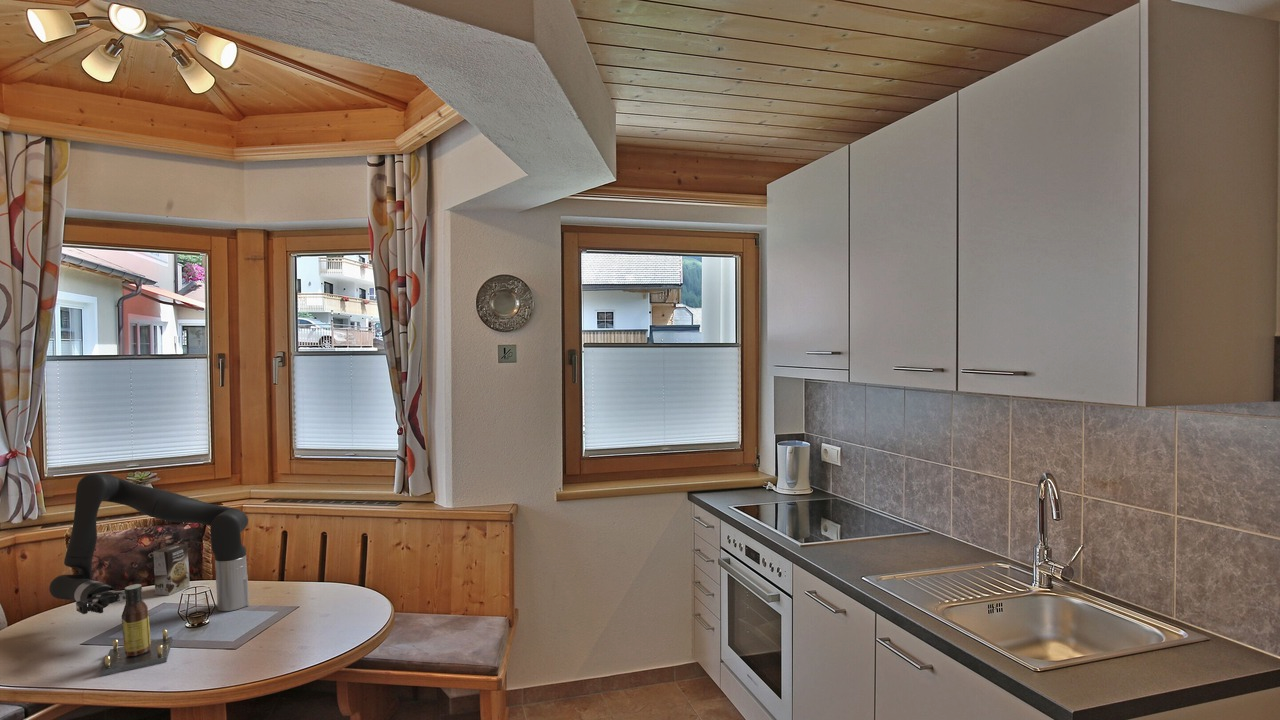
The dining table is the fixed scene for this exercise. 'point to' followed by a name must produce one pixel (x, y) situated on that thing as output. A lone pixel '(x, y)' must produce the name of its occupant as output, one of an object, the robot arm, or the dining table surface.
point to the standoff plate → (121, 662)
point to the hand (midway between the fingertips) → (118, 604)
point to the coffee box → (171, 569)
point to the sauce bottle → (135, 622)
